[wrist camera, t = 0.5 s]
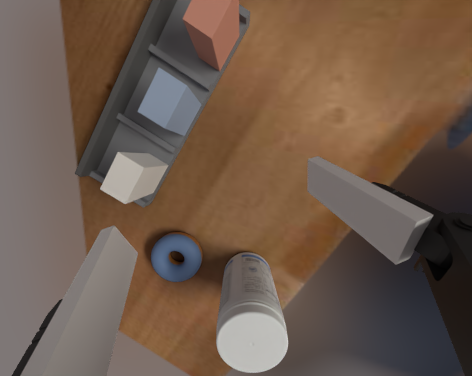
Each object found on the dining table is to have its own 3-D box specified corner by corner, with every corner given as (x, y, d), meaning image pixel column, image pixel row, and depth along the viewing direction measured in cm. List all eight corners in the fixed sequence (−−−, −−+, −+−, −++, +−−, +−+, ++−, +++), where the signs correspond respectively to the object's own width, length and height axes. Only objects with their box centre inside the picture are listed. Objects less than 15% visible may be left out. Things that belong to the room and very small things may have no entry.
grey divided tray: (186, -19, 28) (175, -52, 24) (249, 25, 29) (250, 1, 24) (96, 171, 34) (74, 173, 29) (150, 203, 35) (137, 210, 30)
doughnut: (145, 252, 36) (134, 266, 32) (177, 218, 35) (171, 228, 31) (182, 279, 38) (177, 296, 34) (213, 248, 37) (212, 261, 33)
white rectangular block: (149, 153, 31) (117, 151, 23) (168, 165, 31) (144, 167, 24) (134, 181, 32) (99, 189, 24) (153, 192, 32) (125, 204, 25)
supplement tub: (239, 298, 38) (238, 385, 23) (215, 264, 36) (198, 334, 22) (278, 277, 37) (303, 356, 22) (255, 241, 35) (265, 300, 21)
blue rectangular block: (181, 91, 29) (158, 67, 21) (201, 104, 29) (187, 85, 22) (164, 123, 30) (137, 111, 22) (184, 136, 30) (164, 128, 23)
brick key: (217, 21, 27) (208, -35, 19) (239, 35, 28) (238, -13, 20) (198, 57, 28) (182, 18, 20) (219, 71, 29) (211, 38, 21)
